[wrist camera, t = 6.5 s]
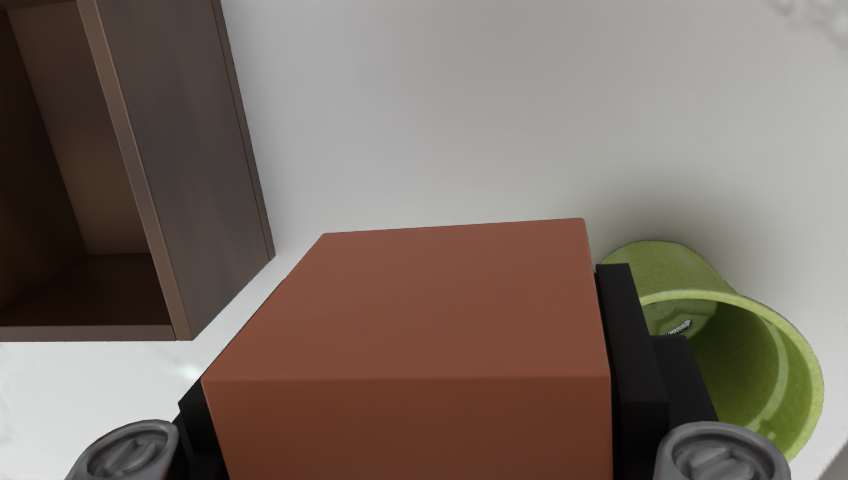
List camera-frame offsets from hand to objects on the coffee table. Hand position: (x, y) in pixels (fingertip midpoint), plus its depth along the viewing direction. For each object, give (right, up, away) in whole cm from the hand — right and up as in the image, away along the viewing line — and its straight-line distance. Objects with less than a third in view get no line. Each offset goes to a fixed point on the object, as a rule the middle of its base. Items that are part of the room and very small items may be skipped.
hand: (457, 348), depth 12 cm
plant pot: (+11, -1, +20) cm, 23 cm away
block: (0, 0, 0) cm, 0 cm away
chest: (-15, +8, +22) cm, 27 cm away
